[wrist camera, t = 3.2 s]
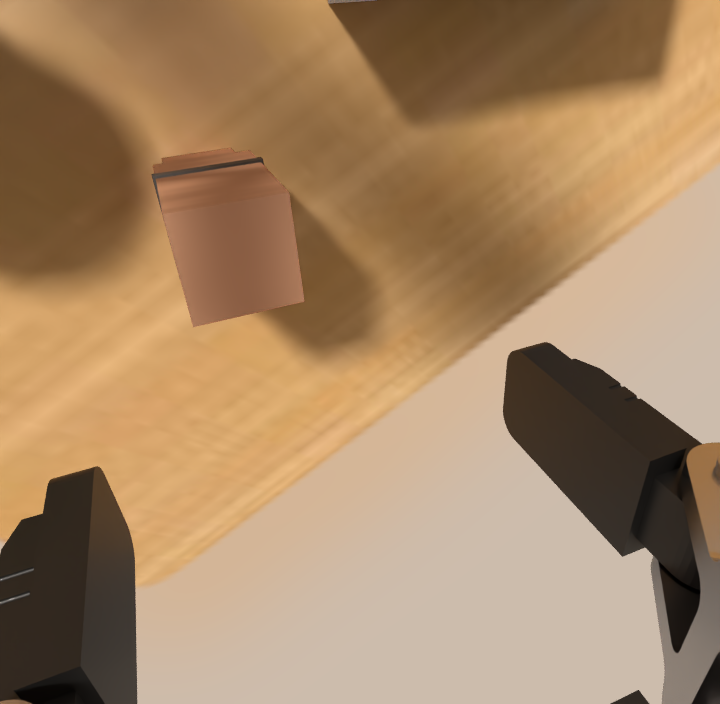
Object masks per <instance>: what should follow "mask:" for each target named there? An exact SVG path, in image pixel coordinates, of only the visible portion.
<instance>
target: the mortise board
mask: <svg viewBox="0 0 720 704" xmlns="http://www.w3.org/2000/svg"><path fill="white" fill-rule="evenodd" d="M360 1H375V0H328V4H329V3H344V2H360Z"/></svg>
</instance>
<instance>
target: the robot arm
mask: <svg viewBox="0 0 720 704" xmlns="http://www.w3.org/2000/svg"><path fill="white" fill-rule="evenodd" d="M503 415H504V420H505V424H506V426H507V429H508V431H509V433H510V434H511V436H512V437H513V438H514V440H515V441H516V442H517V443H518V444H519V445H520V446H521V447H522V448H523V449H524V450H525V451H526V453H527V454H528V455H529V456H530V457H531V458H532V459H533V460H534V461H535V462H536V463H537V464H538V466H539V467H540V468H541V469H542V470H543V471H544V472H545V473H546V474H547V475H548V476H549V478H551V480H552V481H553V482H554V483H555V484H556V485H557V486H558V487H559V488H560V489H561V491H562V492H563V493H564V494H565V495H566V496H567V497H568V498H569V499H570V500H571V501H572V502H573V504H574V505H575V506H576V507H577V508H578V509H579V510H580V511H581V512H582V513H583V514H584V515H585V517H586V518H587V519H588V520H589V521H590V522H591V523H592V524H593V525H594V526H595V527H596V528H597V530H598V531H599V532H600V533H601V534H602V535H603V536H604V537H605V538H606V539H607V540H608V542H609V543H610V544H611V545H612V546H613V547H614V548H615V549H616V550H617V551H618V552H619V553H620V555H621V556H625V555H627V554H630V553H633V552H635V551H637V550H640V549H642V548H644V547H646V548H647V549H648V550H649V552H650V553H652V555H653V559H652V562H651V573H652V581H653V588H654V594H655V601H656V608H657V615H658V622H659V628H660V635H661V642H662V649H663V655H664V664H665V665H664V666H665V676H664V686H663V695H662V704H720V443H706V444H702V443H700V442H699V441H697V440H696V439H695V438H693V437H692V436H691V435H689V434H688V433H687V432H685V431H684V430H683V429H681V428H680V427H678V426H677V425H676V424H674V423H673V422H672V421H670V420H669V419H668V418H666V417H665V416H664V415H662V414H661V413H660V412H658V411H657V410H656V409H654V408H653V407H651V406H650V405H649V404H647V403H646V402H645V401H643V400H642V399H637V396H636V395H635V394H634V393H632V392H631V391H630V390H628V389H627V388H626V387H621V386H620V383H619V382H618V381H616V380H615V379H614V378H612V377H611V376H610V375H608V374H607V373H605V372H604V371H603V370H601V369H600V368H597V367H594V366H592V365H590V364H587V363H585V362H582V361H580V360H577V359H570V358H569V357H568V356H566V355H565V354H564V353H562V352H561V351H560V350H559V349H557V348H556V347H555V346H553V345H552V344H550V343H547V342H544V343H540V344H536V345H533V346H529V347H526V348H522V349H519V350H515V351H512V352H511V353H510V355H509V357H508V360H507V370H506V382H505V393H504V405H503ZM135 605H136V604H135V557H134V549H133V543H132V539H131V535H130V532H129V529H128V526H127V523H126V521H125V519H124V517H123V515H122V512H121V510H120V508H119V506H118V503H117V501H116V499H115V497H114V495H113V492H112V490H111V488H110V486H109V484H108V481H107V479H106V477H105V475H104V473H103V471H102V470H101V468H100V467H98V466H97V467H93V468H89V469H86V470H82V471H79V472H75V473H72V474H68V475H64V476H61V477H57V478H54V479H51V480H50V481H49V483H48V487H47V492H46V498H45V504H44V510H43V514H40V515H37V516H33V517H30V518H26V519H23V520H21V522H20V523H19V524H18V526H17V527H16V529H15V530H14V532H13V533H12V535H11V536H10V538H9V539H8V541H7V542H6V543H5V545H4V546H3V548H2V549H1V554H0V704H137V668H136V667H137V665H136V664H137V663H136V607H135ZM611 704H649V703H648V702H647V700H646V699H645V698H644V697H643V695H642V694H641V692H640V691H639V690H638V691H636V692H633V693H631V694H629V695H628V696H625V697H623V698H621V699H619V700H618V701H616V702H613V703H611Z"/></svg>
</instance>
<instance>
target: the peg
mask: <svg viewBox="0 0 720 704" xmlns="http://www.w3.org/2000/svg"><path fill="white" fill-rule="evenodd" d="M162 162H163V164H156V165H153V168H154V173H155V174H152V178H153V182H154V185H155V189H156V193H157V196H158V200H159V204H160V207H161V211H162V215H163V218H164V222H165V226H166V229H167V233H168V237H169V240H170V244H171V248H172V251H173V255H174V259H175V262H176V266H177V270H178V273H179V277H180V280H181V284H182V287H183V291H184V295H185V298H186V302H187V306H188V309H189V313H190V317H191V320H192V324H193V327H196V326H200V325H205V324H209V323H213V322H218V321H222V320H227V319H231V318H235V317H240V316H244V315H248V314H253V313H257V312H261V311H266V310H270V309H275V308H279V307H283V306H288V305H292V304H296V303H301V302H305V301H304V294H303V287H302V280H301V273H300V266H299V258H298V251H297V244H296V237H295V230H294V223H293V216H292V209H291V202H290V195H289V192H288V191H287V190H286V188H285V187H284V186H283V185H282V184H281V183H280V182H279V181H278V180H277V179H276V178H275V177H274V176H273V175H272V174H271V172H270V171H269V170H268V169H267V168H266V167H265V166H264V163H263V159H262V158H261V157H258V158H256V157H255V155H254V154H253V153H252V152H251V151H250V150H248V151H241V152H234V151H233V150H232V148H227V149H220V150H214V151H207V152H200V153H194V154H187V155H180V156H174V157H167V158H162Z"/></svg>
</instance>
